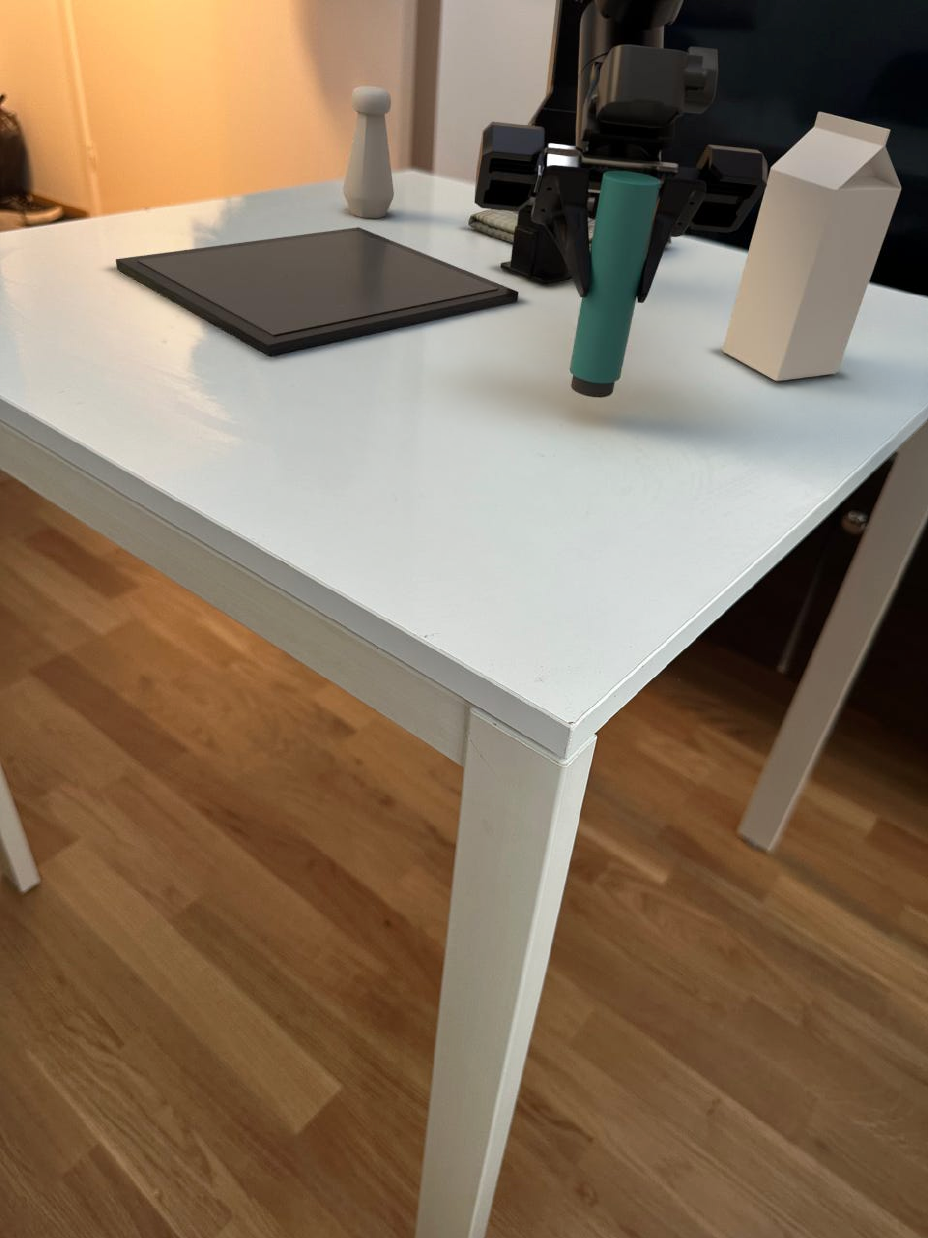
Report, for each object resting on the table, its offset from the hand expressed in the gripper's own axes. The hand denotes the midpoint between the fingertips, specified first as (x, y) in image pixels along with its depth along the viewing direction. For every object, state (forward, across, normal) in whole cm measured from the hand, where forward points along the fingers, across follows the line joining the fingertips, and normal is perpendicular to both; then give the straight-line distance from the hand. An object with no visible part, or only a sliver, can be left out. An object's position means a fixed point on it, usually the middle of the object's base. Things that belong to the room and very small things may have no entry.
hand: (613, 297), depth 61 cm
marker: (+4, 0, +6) cm, 7 cm away
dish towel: (-30, +5, +44) cm, 53 cm away
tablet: (-12, -22, +25) cm, 35 cm away
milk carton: (-5, +19, +18) cm, 27 cm away
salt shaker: (-32, -19, +45) cm, 59 cm away
